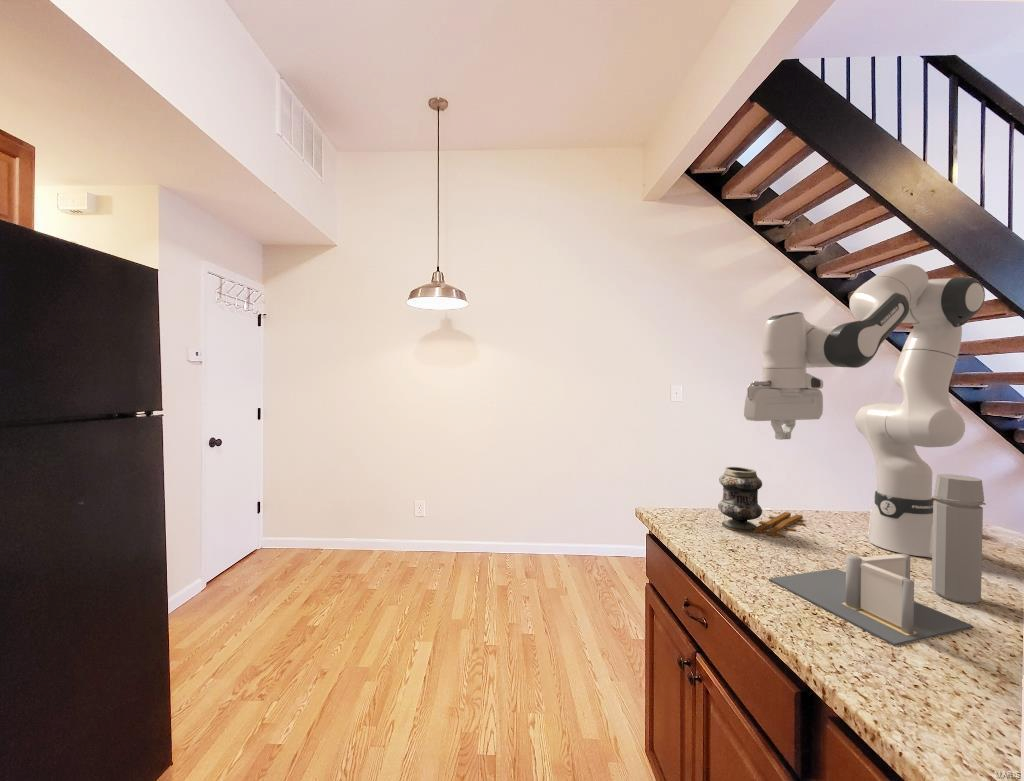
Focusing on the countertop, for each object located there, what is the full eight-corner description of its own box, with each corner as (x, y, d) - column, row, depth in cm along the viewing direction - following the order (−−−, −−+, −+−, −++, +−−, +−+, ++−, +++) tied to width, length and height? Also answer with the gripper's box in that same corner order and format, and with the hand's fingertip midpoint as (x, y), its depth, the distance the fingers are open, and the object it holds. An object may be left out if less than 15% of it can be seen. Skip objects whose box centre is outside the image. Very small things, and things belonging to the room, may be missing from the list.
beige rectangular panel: (911, 600, 86) (912, 556, 86) (864, 605, 84) (865, 560, 84) (903, 596, 88) (904, 553, 88) (856, 601, 86) (857, 557, 86)
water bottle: (986, 610, 84) (988, 483, 83) (930, 597, 89) (932, 477, 89) (980, 593, 91) (982, 475, 90) (928, 581, 96) (930, 470, 95)
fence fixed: (851, 604, 86) (852, 554, 86) (917, 635, 75) (918, 579, 75) (842, 605, 86) (843, 556, 85) (907, 638, 75) (908, 581, 75)
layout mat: (835, 569, 102) (835, 567, 102) (973, 627, 78) (973, 624, 78) (768, 580, 97) (768, 578, 97) (894, 646, 72) (894, 643, 72)
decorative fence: (745, 532, 130) (782, 541, 122) (745, 525, 130) (782, 534, 122) (776, 515, 146) (811, 523, 138) (776, 510, 146) (811, 517, 138)
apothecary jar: (769, 528, 131) (770, 470, 131) (749, 536, 124) (749, 474, 124) (730, 518, 141) (731, 463, 141) (709, 524, 134) (710, 467, 134)
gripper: (759, 380, 96) (758, 442, 96) (828, 381, 101) (828, 439, 102) (737, 381, 102) (736, 439, 102) (804, 381, 108) (803, 436, 108)
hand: (783, 439), depth 102 cm, fingers closed
